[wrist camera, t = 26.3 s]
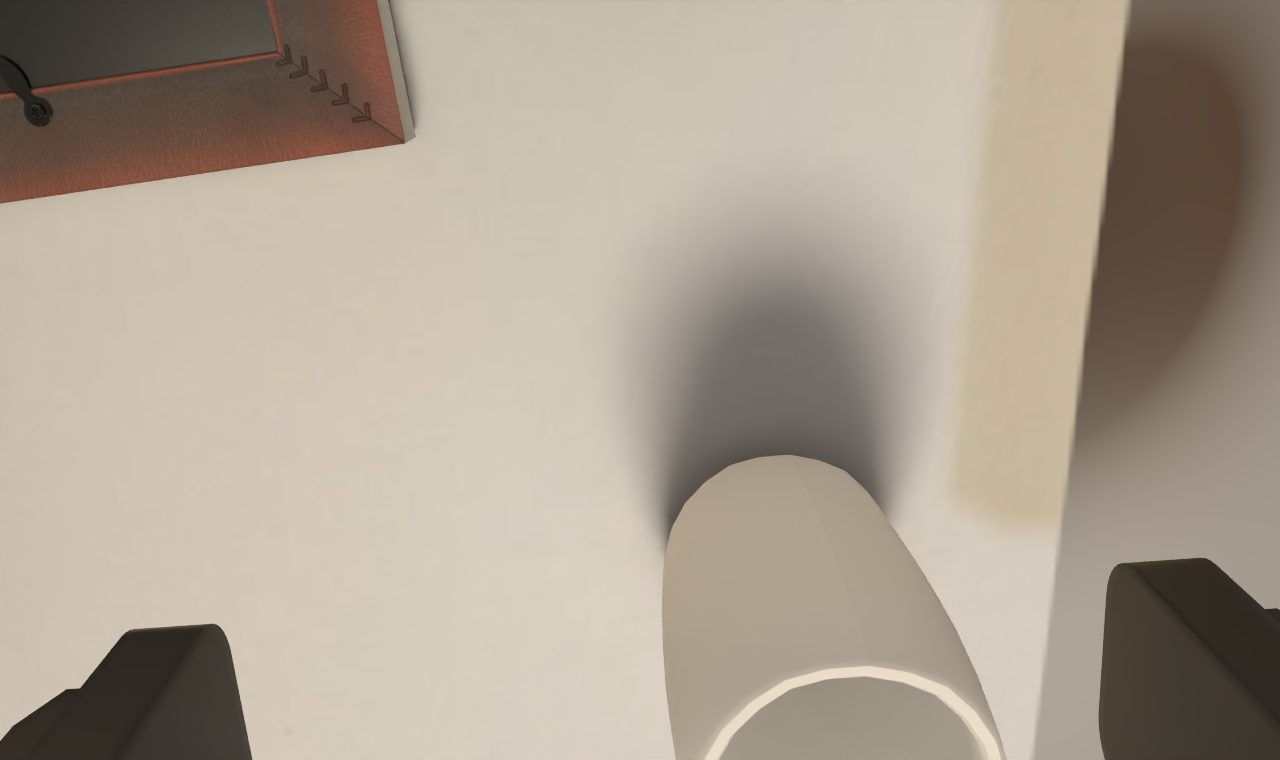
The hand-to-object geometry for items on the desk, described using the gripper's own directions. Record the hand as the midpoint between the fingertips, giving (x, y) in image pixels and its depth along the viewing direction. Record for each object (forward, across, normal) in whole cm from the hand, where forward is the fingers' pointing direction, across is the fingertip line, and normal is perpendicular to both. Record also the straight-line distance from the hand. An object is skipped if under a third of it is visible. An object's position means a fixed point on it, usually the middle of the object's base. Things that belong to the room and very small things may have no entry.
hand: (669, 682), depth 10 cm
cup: (+28, -4, +12) cm, 31 cm away
